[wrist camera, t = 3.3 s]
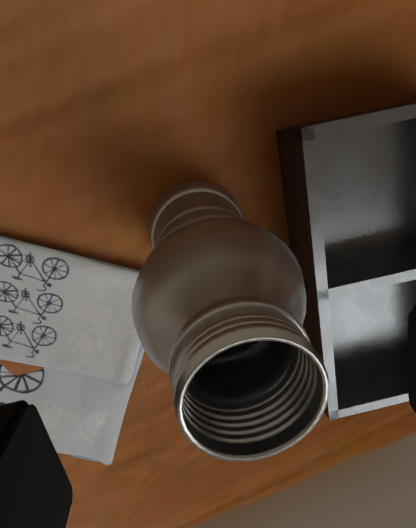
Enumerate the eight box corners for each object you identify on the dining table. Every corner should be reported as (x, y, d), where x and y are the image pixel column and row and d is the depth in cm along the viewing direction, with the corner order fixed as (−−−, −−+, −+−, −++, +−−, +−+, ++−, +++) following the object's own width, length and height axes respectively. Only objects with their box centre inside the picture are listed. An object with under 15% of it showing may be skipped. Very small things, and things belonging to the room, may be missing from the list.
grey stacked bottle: (252, 230, 28) (431, 417, 9) (180, 276, 28) (207, 542, 10) (208, 158, 26) (322, 205, 7) (132, 210, 26) (42, 383, 7)
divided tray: (276, 130, 25) (301, 127, 21) (429, 98, 26) (487, 88, 21) (306, 380, 33) (329, 420, 28) (424, 352, 34) (465, 387, 29)
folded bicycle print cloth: (169, 271, 29) (170, 281, 27) (112, 458, 34) (108, 478, 32) (-91, 202, 25) (-113, 208, 23) (-107, 425, 31) (-127, 445, 29)
